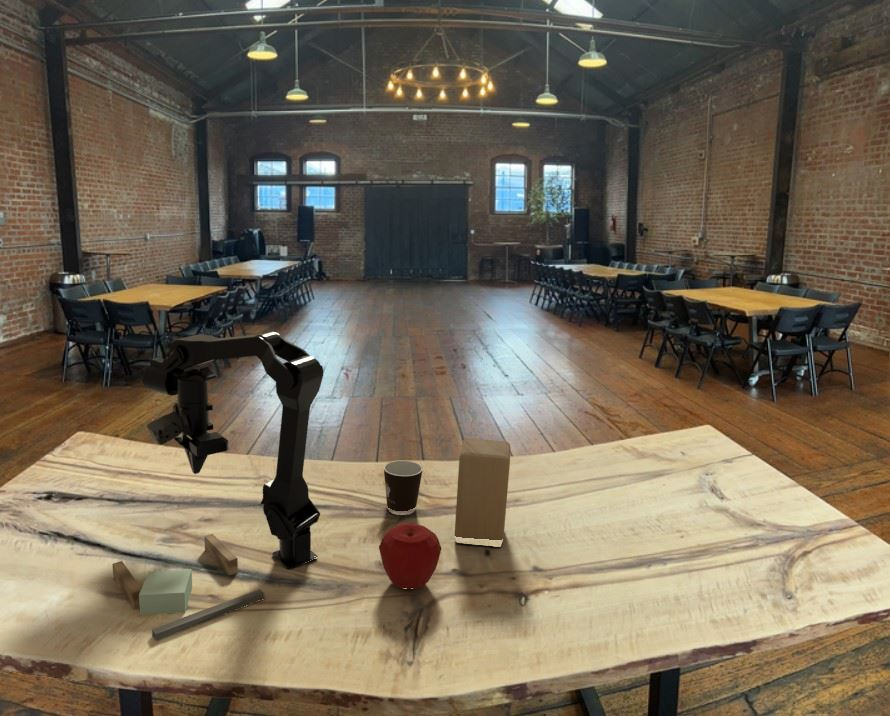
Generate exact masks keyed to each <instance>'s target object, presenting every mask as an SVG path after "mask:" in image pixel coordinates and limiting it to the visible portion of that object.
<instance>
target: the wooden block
mask: <svg viewBox="0 0 890 716" xmlns="http://www.w3.org/2000/svg"><path fill="white" fill-rule="evenodd" d="M458 462H459V463H458V477H457V492H456V493H457V494H456V505H455V506H456V507H455V521H454V536H456V537H462V538H474V539H489V540H502V539H503V538H504V539H505V537H504V535H505V526H506V514H507V501H508V492H509V491H508V490H509V478H510V477H509V476H510V465H511V444H510V442H508V441H504V440H495V439H494V440H493V439H484V438H483V439H481V438H472V437H471V438H470V437H466V438H464V439H463V440H462V443H461V448H460V452H459V460H458ZM504 539H503V540H504Z"/></svg>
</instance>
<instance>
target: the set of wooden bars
mask: <svg viewBox="0 0 890 716" xmlns="http://www.w3.org/2000/svg"><path fill="white" fill-rule="evenodd" d="M204 551H205V552H206V553H207V554H208V555H209V556H210V557H211V558H212V559H213V560H214V562H215V563H217V564H218V565H219V566H220V567H221V569H223V571H224V572H225V573H226V574H227V575H228V576H233V575H235V574H238V573H239V570H238V569H239V567H238V566H239V565H238V562H239V561H238V560H239V559H238V557H237V556H236V555H235V554H234V553H233V552H232V551H231V550H230V549H229V548H228V547H227V546H226V545H225V544H224V543H223V541H220V539H219V538H217V536H216V535H214V534H213V533H211V534H207V535H204ZM111 566H112V577H113V578H112V579H113V581H114V582H115V583H116V585H117V586H118V588H119V590H120V591H121V592H122V593H123V595H124V596H125V598H126V599H127V601H128V603H129V604H130V605H131V607H132V608H133V610H135V609H137V608H140V604H139V594H140V591H141V589H142V586H141V585H140V584H139V582H138V581H137V580H136V578H135V577H134V575H133V574H132V573H131V571H130V570H129V568H128V567H127V565H126V564H125V563H124V562H123V560H120V561H117V562H113V563H112V565H111ZM262 599H264V600H265V592H263V591H262V589H261V588H259V589H256V590H253V591H251V592H248V593H245V594H243V595H240V596H237V597H234V598H232V599H228V600H227V601H223V602H221V603H219V604H216V605H212V606H210V607H207V608H205V609H202V610H199V611H196V612H195V613H191V614H188V615H186V616H183V617H181V618H178V619H175V620H173V621H170V622H167V623H164V624H162V625H158V626H156V627H154V628H151V636H152V638H153V639H154V641H155V642H157V641H159V640H163V639H165V638H167V637H168V638H169V637H170V636H172V635H176V634H178V633H181V632H183V631H186V630H189V629H191V628H193V627H196V626H199V625H201V624H203V623H204V624H205V623H206V622H209V621H211V620H215V619H216V618H217V619H218V618H219V617H222V616H224V614H225V613H227V614H229V612H230V611H233V612H235V611H237V610H236V609H238V610H239V608H240V609H242V608H241V607H243V608H245V607H244V606H246V605H248V606H250V605H249V604H251V603H253V604H255V603H254V602H256V601H258V600H261V601H263V600H262ZM258 602H259V601H258ZM256 603H257V602H256ZM251 605H252V604H251ZM246 607H247V606H246ZM234 610H235V611H234ZM230 613H231V612H230ZM225 615H226V614H225Z"/></svg>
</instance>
